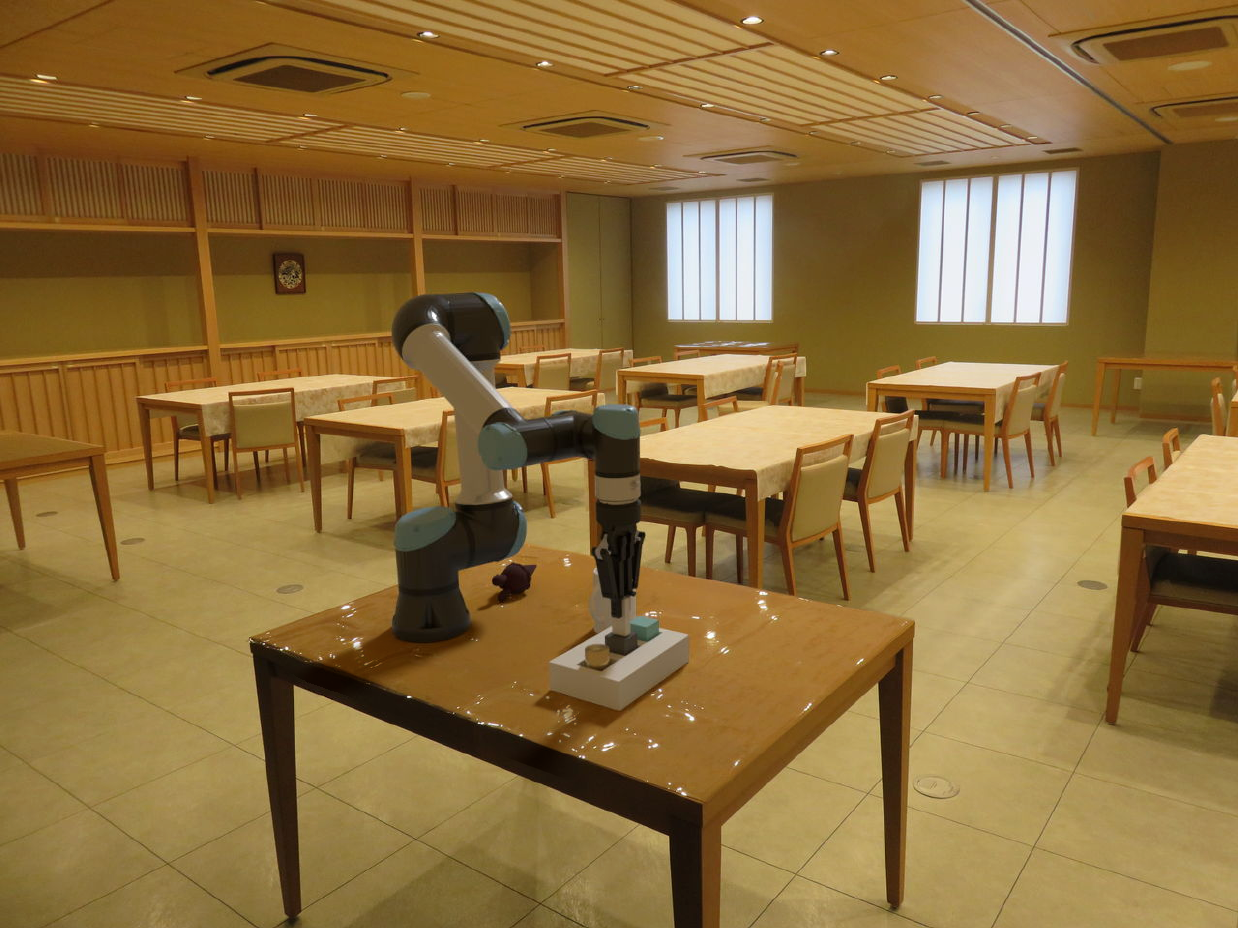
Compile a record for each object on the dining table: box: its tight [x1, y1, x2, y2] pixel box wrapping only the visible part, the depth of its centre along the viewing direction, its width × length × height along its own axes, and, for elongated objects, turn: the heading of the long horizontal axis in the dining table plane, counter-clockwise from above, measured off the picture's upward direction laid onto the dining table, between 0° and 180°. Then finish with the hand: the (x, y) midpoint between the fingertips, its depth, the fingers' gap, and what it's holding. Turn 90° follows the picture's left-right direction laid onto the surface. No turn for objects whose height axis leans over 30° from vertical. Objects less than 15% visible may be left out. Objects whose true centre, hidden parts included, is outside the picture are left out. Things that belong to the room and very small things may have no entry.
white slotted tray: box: [548, 626, 690, 712], centre depth 155 cm, size 14×22×5 cm, turn 146°
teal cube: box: [630, 615, 660, 642], centre depth 160 cm, size 4×4×4 cm
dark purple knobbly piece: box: [491, 561, 537, 603], centre depth 197 cm, size 7×7×15 cm
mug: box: [588, 566, 637, 635], centre depth 174 cm, size 12×8×12 cm
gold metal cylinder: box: [585, 644, 610, 671], centre depth 149 cm, size 4×4×4 cm
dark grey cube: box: [605, 631, 638, 656], centre depth 154 cm, size 4×4×4 cm
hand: (621, 633), depth 154 cm, fingers closed
